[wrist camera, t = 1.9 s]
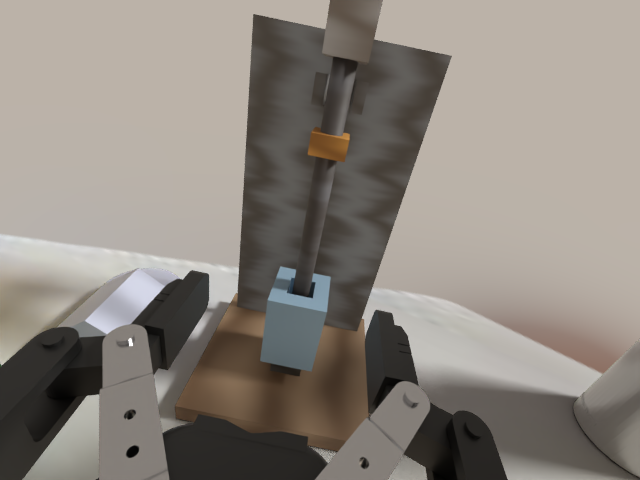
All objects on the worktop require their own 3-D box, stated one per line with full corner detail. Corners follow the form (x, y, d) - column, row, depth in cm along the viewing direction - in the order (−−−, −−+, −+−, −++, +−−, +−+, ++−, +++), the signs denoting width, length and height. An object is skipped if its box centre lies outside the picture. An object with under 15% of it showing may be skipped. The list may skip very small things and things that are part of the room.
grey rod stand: (360, 329, 41) (464, 32, 24) (364, 456, 27) (614, -31, 10) (235, 303, 41) (252, -12, 24) (176, 418, 27) (117, -137, 10)
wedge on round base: (142, 374, 30) (194, 293, 42) (134, 328, 27) (193, 254, 38) (53, 360, 30) (130, 282, 41) (34, 312, 27) (123, 242, 38)
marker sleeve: (316, 332, 34) (330, 276, 30) (311, 371, 29) (326, 312, 25) (272, 323, 34) (280, 266, 30) (260, 361, 29) (267, 300, 25)
